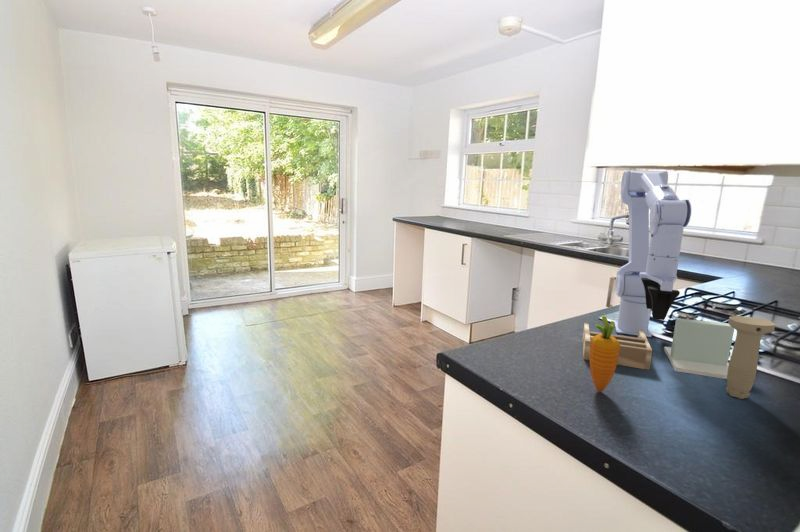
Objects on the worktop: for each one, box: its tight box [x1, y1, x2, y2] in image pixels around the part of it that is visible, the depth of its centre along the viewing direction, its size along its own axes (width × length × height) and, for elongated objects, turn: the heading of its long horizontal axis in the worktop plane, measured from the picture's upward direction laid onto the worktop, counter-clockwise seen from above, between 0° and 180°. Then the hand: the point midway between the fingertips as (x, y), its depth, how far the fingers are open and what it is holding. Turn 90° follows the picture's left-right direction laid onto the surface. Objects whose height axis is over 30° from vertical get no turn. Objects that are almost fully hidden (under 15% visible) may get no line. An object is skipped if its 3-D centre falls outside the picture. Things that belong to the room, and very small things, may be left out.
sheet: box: [670, 317, 735, 366], centre depth 87 cm, size 2×10×9 cm, turn 70°
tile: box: [663, 345, 729, 380], centre depth 88 cm, size 12×11×1 cm
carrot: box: [588, 315, 620, 393], centre depth 74 cm, size 5×5×15 cm
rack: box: [582, 322, 653, 371], centre depth 92 cm, size 12×13×6 cm
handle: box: [725, 315, 776, 400], centre depth 73 cm, size 5×6×15 cm
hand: (654, 313), depth 89 cm, fingers open, 7 cm apart
